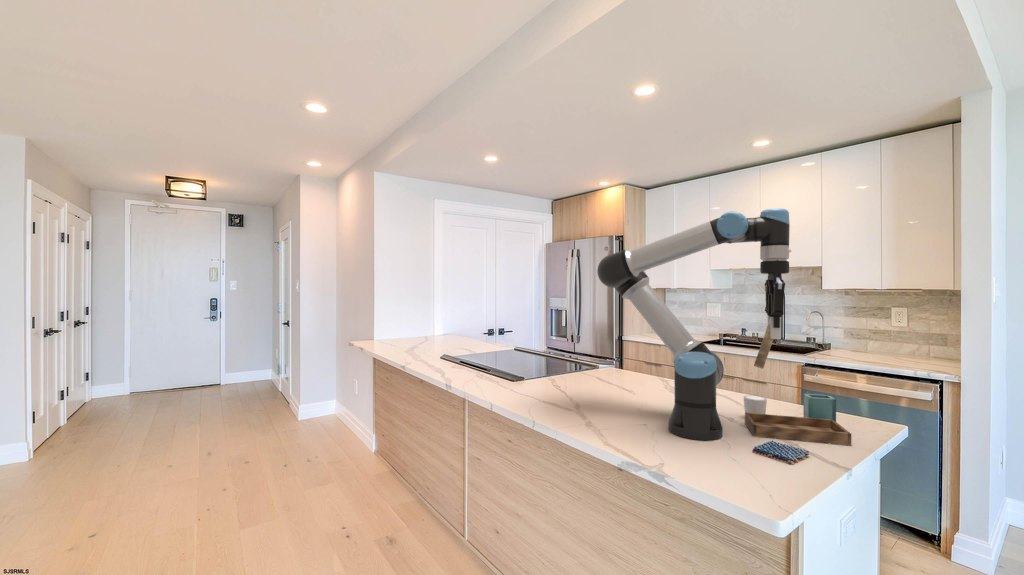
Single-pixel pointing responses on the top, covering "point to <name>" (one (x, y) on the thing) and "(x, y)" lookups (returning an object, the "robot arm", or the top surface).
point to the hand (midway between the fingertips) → (774, 337)
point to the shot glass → (755, 404)
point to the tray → (797, 428)
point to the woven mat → (781, 452)
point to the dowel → (764, 349)
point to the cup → (819, 406)
